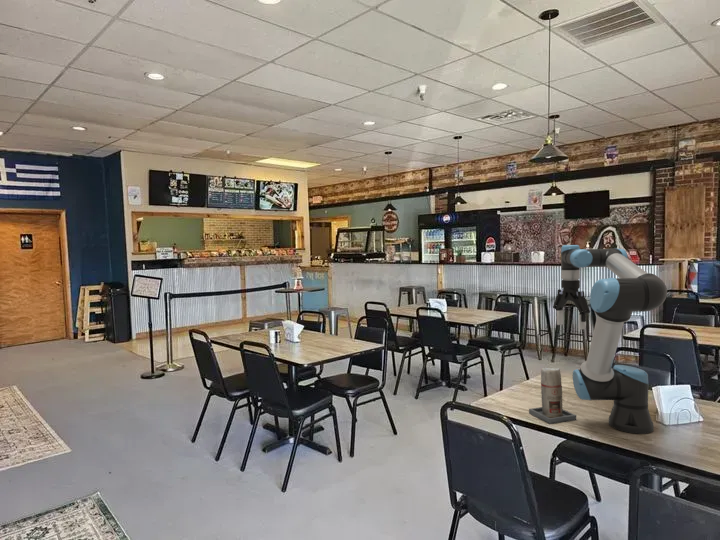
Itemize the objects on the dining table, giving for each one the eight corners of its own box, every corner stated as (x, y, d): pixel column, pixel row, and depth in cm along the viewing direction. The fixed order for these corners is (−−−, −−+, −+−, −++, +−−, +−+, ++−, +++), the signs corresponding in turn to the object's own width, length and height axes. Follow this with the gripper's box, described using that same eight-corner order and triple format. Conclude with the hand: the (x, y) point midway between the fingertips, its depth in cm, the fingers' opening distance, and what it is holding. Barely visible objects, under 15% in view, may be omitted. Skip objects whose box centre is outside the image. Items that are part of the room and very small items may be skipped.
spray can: (539, 416, 192) (539, 369, 191) (542, 410, 199) (541, 364, 198) (562, 420, 188) (561, 371, 187) (563, 413, 195) (563, 366, 194)
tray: (576, 420, 189) (576, 415, 189) (549, 424, 185) (549, 419, 185) (554, 409, 202) (554, 405, 202) (528, 413, 198) (528, 408, 198)
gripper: (599, 280, 196) (599, 330, 197) (558, 277, 220) (558, 322, 221) (584, 281, 194) (584, 331, 195) (544, 278, 218) (545, 323, 219)
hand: (570, 326), depth 208 cm, fingers open, 13 cm apart
